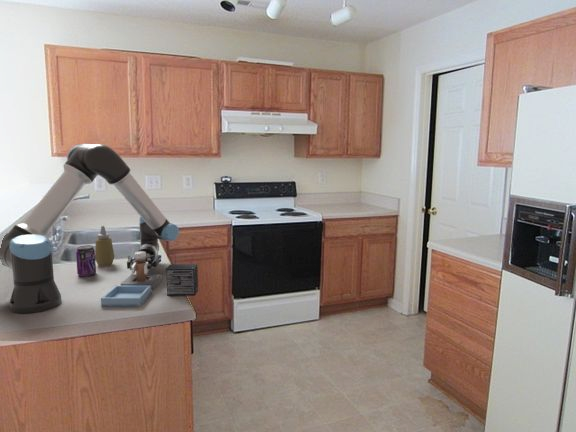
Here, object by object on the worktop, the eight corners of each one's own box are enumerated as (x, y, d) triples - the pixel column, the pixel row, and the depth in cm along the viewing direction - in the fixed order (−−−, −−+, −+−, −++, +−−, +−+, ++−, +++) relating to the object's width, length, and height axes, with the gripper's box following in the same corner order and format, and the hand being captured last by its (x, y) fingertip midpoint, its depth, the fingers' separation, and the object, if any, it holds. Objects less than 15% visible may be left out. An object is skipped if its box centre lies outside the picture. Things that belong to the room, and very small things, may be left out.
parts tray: (101, 306, 143) (100, 298, 143) (115, 293, 156) (115, 285, 155) (140, 306, 143) (139, 298, 143) (151, 293, 156) (151, 285, 156)
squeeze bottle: (91, 266, 189) (88, 227, 186) (104, 262, 197) (102, 224, 194) (106, 268, 186) (103, 228, 183) (118, 263, 194) (116, 225, 191)
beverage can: (87, 278, 173) (85, 249, 171) (73, 276, 175) (71, 248, 173) (100, 273, 180) (98, 245, 178) (86, 271, 182) (84, 244, 180)
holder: (120, 290, 159) (120, 284, 159) (131, 280, 171) (131, 274, 171) (152, 290, 160) (152, 284, 159) (161, 280, 171) (161, 274, 171)
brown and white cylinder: (134, 286, 163) (132, 254, 161) (138, 283, 167) (136, 251, 165) (145, 286, 163) (144, 254, 161) (148, 283, 168) (147, 251, 165)
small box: (198, 290, 160) (198, 263, 159) (195, 296, 154) (195, 268, 152) (170, 290, 160) (169, 263, 158) (166, 296, 154) (165, 268, 152)
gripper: (167, 262, 184) (162, 278, 161) (126, 263, 181) (115, 281, 158) (166, 245, 183) (161, 259, 160) (125, 246, 179) (114, 261, 157)
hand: (138, 270), depth 159 cm, fingers closed on brown and white cylinder, 4 cm apart
